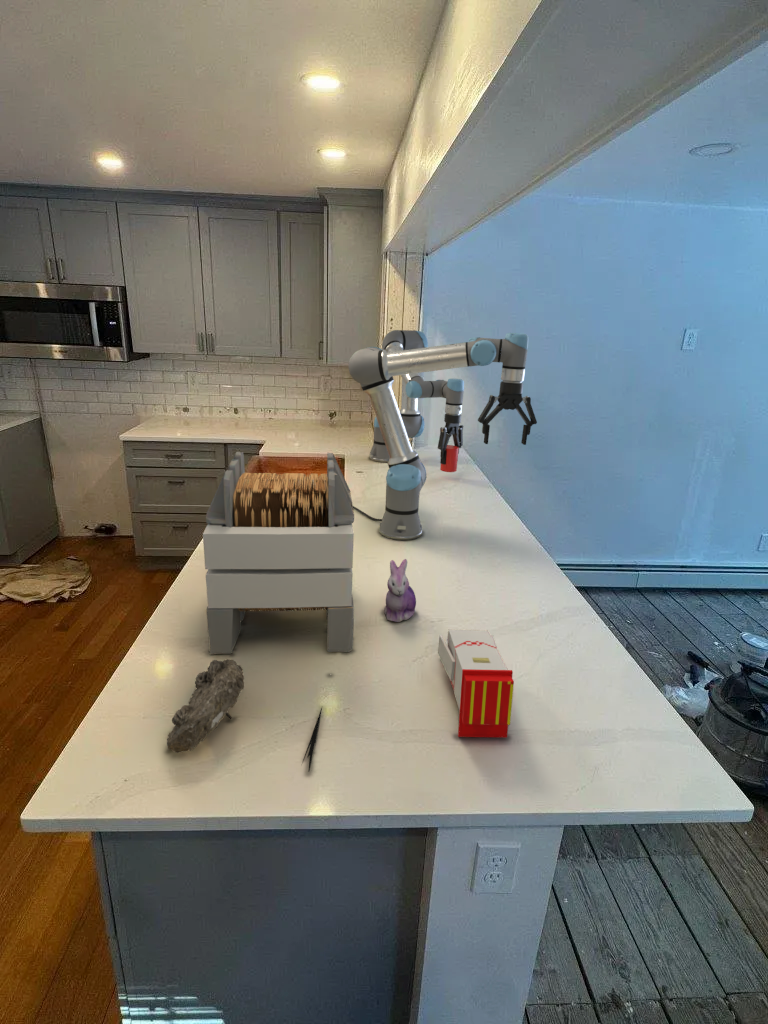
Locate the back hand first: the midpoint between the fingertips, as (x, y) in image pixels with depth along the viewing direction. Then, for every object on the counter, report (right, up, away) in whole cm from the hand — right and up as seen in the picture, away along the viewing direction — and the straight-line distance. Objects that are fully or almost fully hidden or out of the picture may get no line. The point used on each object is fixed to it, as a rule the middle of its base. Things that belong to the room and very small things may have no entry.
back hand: (448, 462), depth 265 cm
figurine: (-26, -50, -118) cm, 131 cm away
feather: (-43, -63, -156) cm, 174 cm away
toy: (-12, -61, -147) cm, 159 cm away
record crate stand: (-55, -50, -121) cm, 143 cm away
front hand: (+12, +1, -68) cm, 69 cm away
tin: (0, -3, +1) cm, 4 cm away
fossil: (-63, -62, -157) cm, 180 cm away
